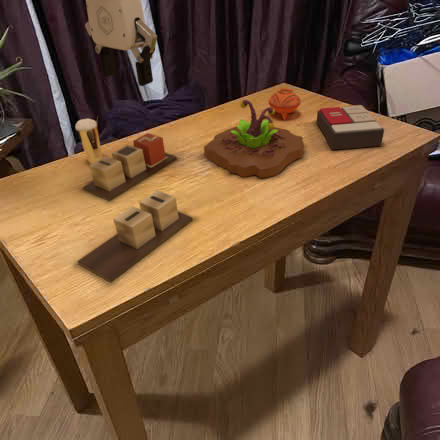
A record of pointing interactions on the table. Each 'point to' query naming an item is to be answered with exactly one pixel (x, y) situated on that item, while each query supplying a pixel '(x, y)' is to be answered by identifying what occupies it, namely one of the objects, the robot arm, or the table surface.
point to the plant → (255, 146)
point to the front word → (136, 235)
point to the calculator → (349, 127)
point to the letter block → (151, 148)
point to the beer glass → (89, 139)
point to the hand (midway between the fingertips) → (127, 79)
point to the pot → (284, 101)
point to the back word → (122, 171)
